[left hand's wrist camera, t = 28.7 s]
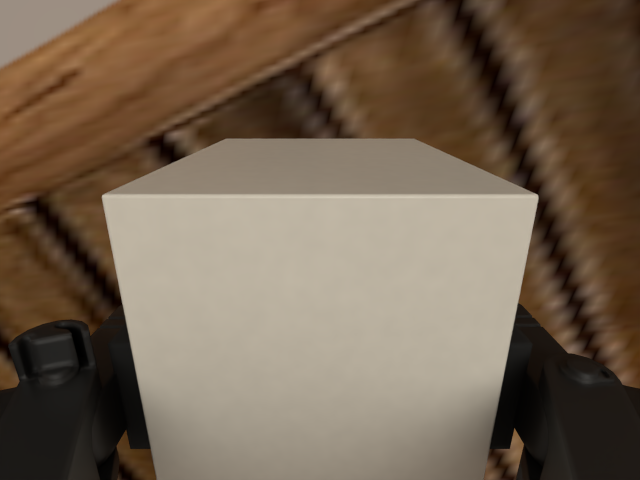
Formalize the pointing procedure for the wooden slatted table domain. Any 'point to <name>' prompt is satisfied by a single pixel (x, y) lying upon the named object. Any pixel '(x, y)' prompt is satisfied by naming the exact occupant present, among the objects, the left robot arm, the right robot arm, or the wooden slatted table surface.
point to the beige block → (320, 308)
